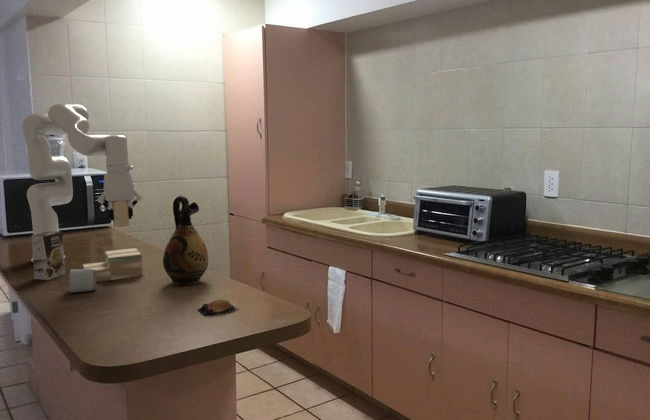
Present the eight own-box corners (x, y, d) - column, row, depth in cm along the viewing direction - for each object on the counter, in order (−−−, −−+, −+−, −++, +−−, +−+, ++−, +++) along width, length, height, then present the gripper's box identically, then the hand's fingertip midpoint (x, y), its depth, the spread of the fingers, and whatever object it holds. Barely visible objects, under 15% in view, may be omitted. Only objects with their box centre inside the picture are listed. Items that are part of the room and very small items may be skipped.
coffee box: (49, 280, 204) (46, 235, 201) (34, 279, 205) (30, 235, 202) (66, 273, 212) (62, 231, 210) (51, 273, 214) (47, 230, 211)
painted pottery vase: (218, 281, 199) (215, 196, 195) (180, 291, 188) (175, 201, 184) (190, 273, 211) (186, 192, 206) (153, 282, 200) (148, 197, 195)
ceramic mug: (97, 292, 188) (95, 269, 187) (70, 295, 185) (68, 272, 184) (96, 284, 197) (95, 263, 196) (70, 287, 194) (69, 265, 193)
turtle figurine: (228, 305, 174) (228, 293, 174) (240, 312, 167) (240, 300, 167) (195, 311, 169) (194, 299, 168) (206, 319, 162) (205, 306, 161)
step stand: (83, 274, 211) (82, 253, 210) (137, 268, 219) (135, 248, 218) (86, 283, 199) (84, 260, 198) (142, 276, 207) (141, 254, 206)
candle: (115, 224, 211) (114, 197, 209) (131, 224, 211) (129, 197, 210) (111, 227, 205) (109, 199, 204) (127, 226, 206) (125, 199, 204)
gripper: (140, 168, 212) (143, 216, 215) (91, 170, 205) (94, 220, 207) (144, 169, 206) (147, 218, 208) (93, 171, 198) (96, 222, 201)
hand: (121, 218), depth 208 cm, fingers closed on candle, 5 cm apart
